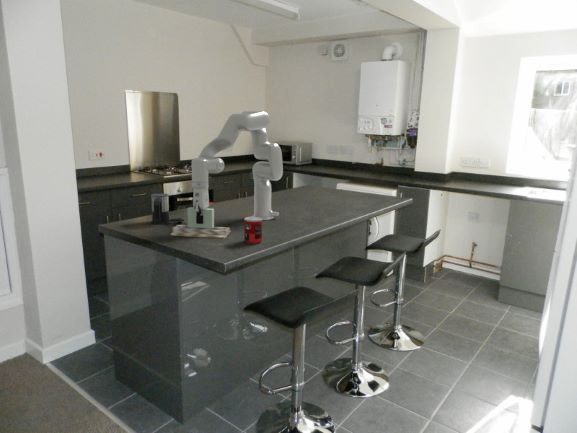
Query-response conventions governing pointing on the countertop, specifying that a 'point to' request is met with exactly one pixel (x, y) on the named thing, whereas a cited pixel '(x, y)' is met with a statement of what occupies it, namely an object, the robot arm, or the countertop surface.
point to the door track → (200, 231)
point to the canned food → (252, 230)
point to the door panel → (207, 218)
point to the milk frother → (161, 209)
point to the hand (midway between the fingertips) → (201, 222)
